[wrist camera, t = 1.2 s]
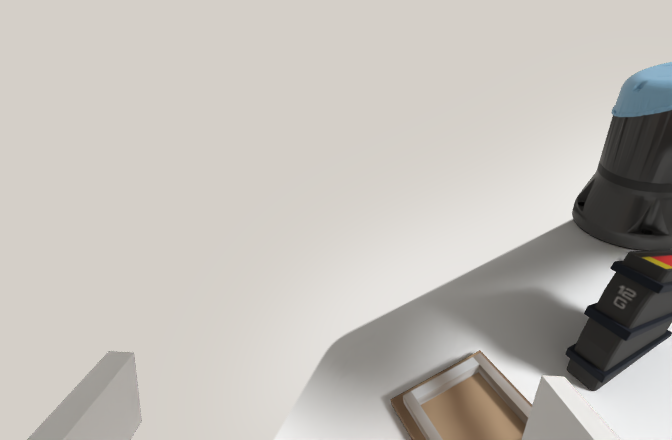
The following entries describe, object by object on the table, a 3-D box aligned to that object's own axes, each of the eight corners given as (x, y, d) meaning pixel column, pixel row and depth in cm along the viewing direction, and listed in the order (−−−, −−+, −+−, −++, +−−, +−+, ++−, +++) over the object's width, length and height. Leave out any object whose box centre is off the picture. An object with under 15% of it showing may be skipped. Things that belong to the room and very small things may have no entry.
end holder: (479, 355, 40) (480, 342, 39) (576, 458, 31) (582, 446, 29) (391, 404, 37) (389, 391, 36) (467, 535, 28) (469, 525, 26)
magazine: (543, 373, 36) (621, 249, 30) (605, 351, 42) (679, 247, 36) (578, 404, 33) (672, 274, 27) (639, 376, 39) (726, 266, 33)
